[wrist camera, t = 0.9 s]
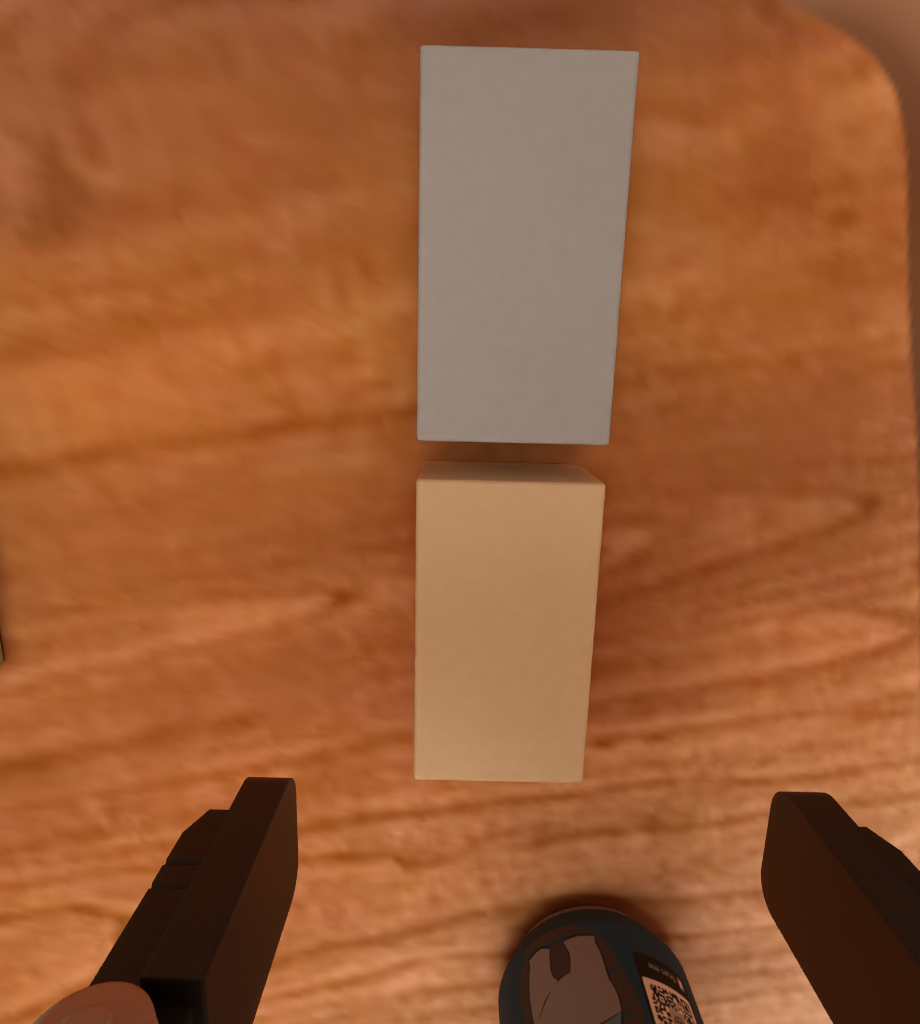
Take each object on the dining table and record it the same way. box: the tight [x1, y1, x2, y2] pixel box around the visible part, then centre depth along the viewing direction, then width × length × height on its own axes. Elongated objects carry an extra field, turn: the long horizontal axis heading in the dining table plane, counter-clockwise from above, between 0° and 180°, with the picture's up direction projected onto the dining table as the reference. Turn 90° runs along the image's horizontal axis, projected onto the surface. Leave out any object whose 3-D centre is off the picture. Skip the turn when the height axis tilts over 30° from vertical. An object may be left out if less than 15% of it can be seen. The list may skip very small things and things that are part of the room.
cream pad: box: [414, 461, 605, 783], centre depth 19 cm, size 9×5×4 cm, turn 179°
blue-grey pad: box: [417, 45, 639, 445], centre depth 17 cm, size 9×5×4 cm, turn 179°
